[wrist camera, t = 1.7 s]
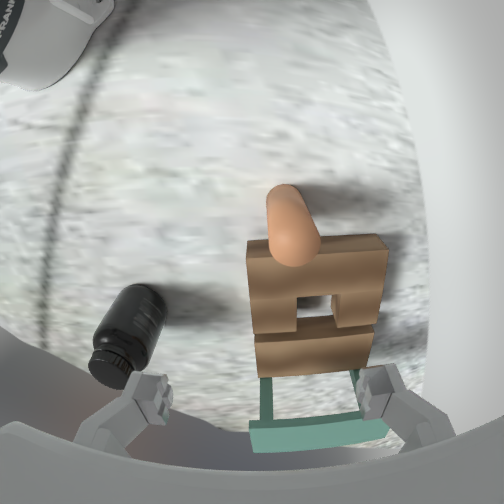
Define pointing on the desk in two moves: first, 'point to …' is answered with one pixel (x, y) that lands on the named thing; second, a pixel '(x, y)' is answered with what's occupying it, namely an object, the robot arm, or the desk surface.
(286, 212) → the peg
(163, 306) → the supplement bottle
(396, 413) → the robot arm
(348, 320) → the socket block
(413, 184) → the desk surface
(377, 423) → the teal u-shaped bracket
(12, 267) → the desk surface
